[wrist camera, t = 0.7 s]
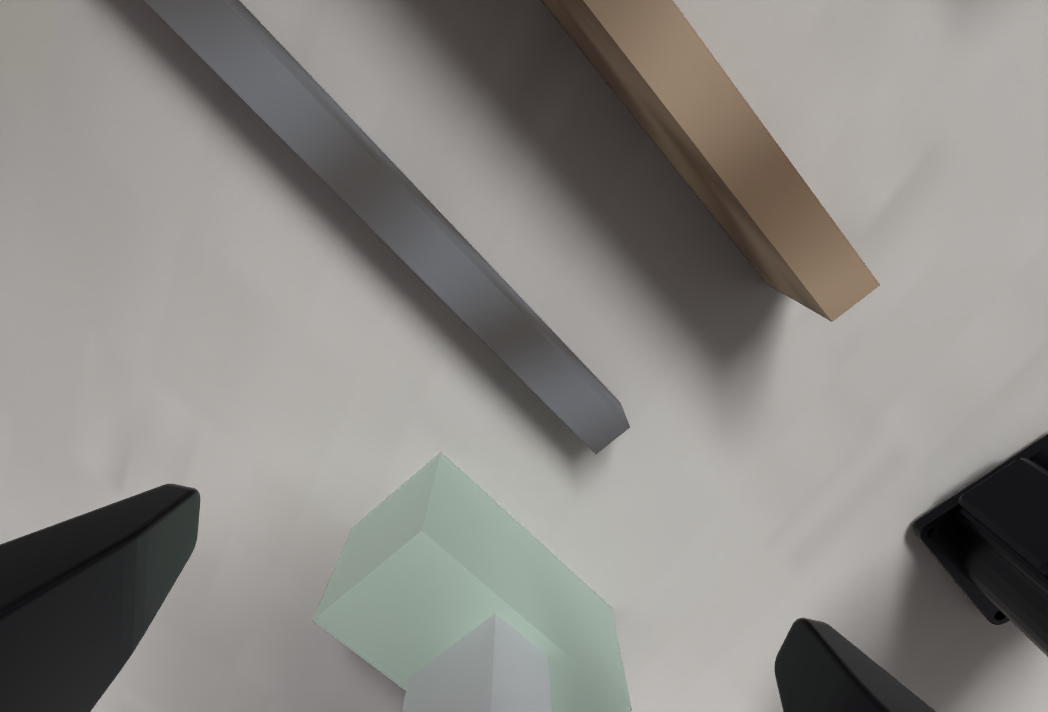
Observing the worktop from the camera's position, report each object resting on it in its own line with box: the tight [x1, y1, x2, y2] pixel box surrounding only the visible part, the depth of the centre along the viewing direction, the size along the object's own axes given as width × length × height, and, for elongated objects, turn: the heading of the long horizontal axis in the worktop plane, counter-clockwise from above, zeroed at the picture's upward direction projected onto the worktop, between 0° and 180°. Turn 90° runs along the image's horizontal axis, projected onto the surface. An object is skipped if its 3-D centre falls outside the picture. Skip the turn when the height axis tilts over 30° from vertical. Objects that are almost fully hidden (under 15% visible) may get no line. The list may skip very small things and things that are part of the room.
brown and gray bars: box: [144, 0, 880, 454], centre depth 16 cm, size 22×10×4 cm, turn 43°
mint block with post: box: [312, 452, 632, 712], centre depth 21 cm, size 10×5×8 cm, turn 43°
